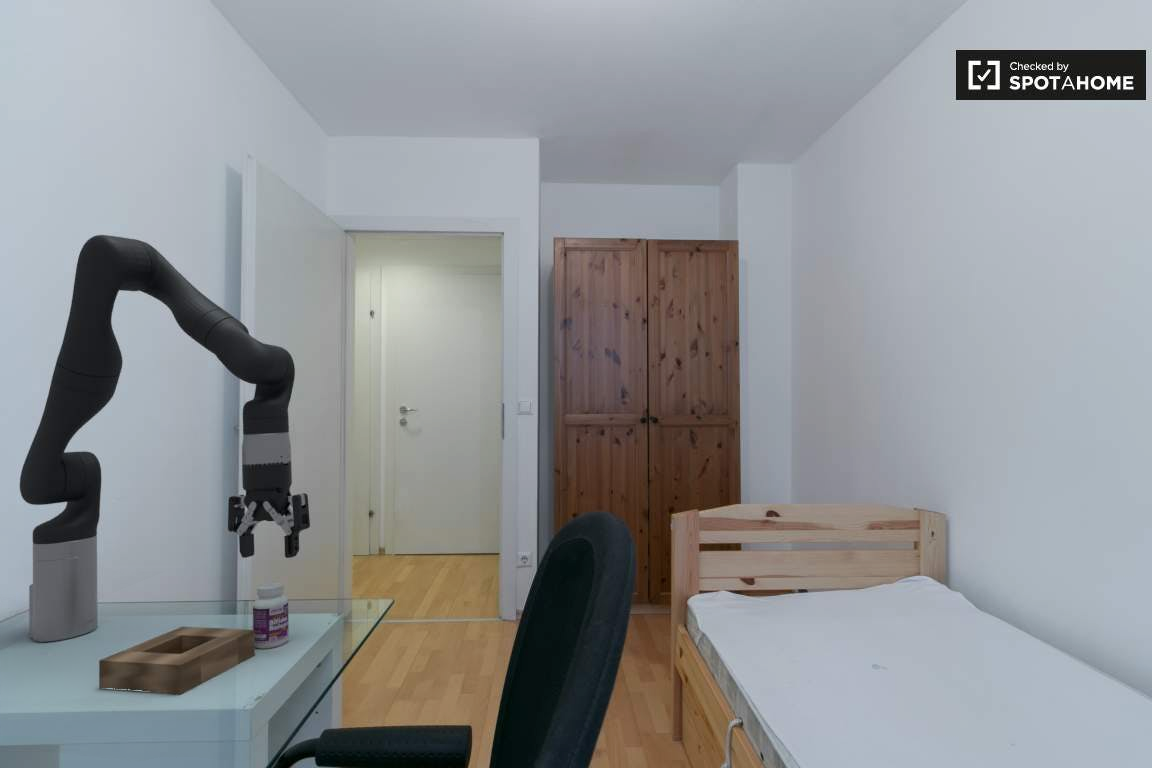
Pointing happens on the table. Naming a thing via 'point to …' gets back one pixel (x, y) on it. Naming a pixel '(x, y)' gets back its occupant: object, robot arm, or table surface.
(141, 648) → the well block
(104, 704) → the table surface
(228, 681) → the table surface
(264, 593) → the pill bottle
